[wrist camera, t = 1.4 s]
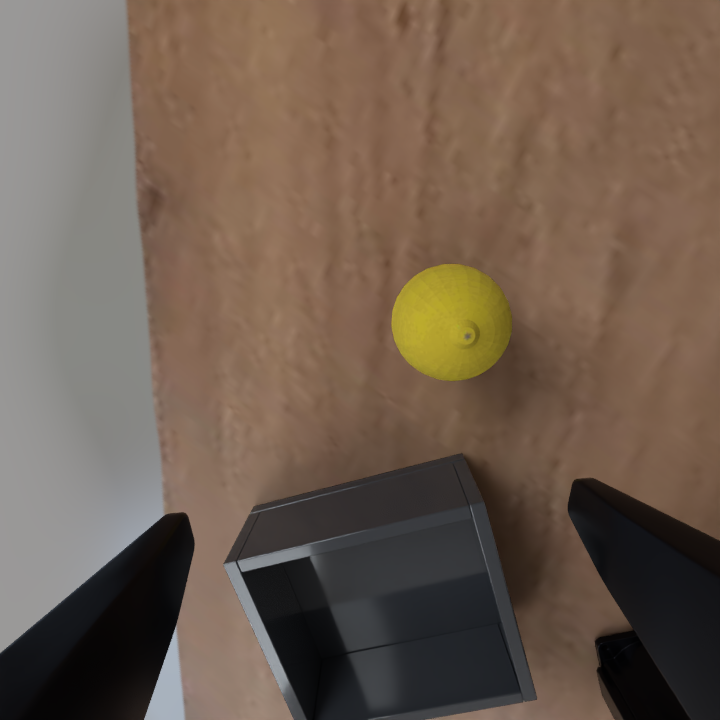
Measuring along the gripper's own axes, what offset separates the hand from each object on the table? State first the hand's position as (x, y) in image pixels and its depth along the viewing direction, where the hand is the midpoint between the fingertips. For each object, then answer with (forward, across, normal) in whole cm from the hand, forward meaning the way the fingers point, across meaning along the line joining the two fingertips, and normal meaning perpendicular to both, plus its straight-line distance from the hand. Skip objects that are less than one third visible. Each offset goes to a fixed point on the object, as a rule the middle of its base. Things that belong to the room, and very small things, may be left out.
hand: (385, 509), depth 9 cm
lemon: (+15, -5, -1) cm, 16 cm away
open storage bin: (+12, -1, +17) cm, 21 cm away
